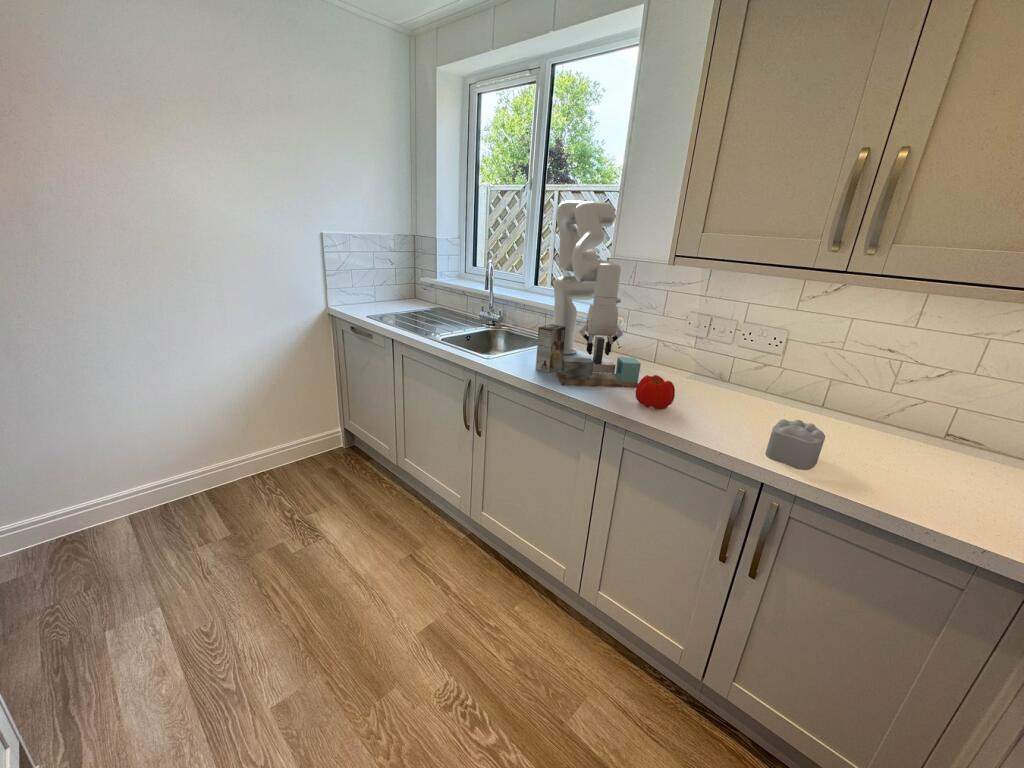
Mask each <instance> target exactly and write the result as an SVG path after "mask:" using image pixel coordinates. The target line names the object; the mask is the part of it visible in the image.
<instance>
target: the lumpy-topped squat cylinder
mask: <svg viewBox="0 0 1024 768" xmlns="http://www.w3.org/2000/svg"><path fill="white" fill-rule="evenodd" d="M825 440H826V435H825V433H824V432H823V431H822V430H821V429H820V428H818V427H817V426H816V425H815V424H813V423H806V422H803V420H801V419H794V420H788V419H785V418H784V419H779V420H778V422H777V423H776V424H775V425H774V426H773V427H772V430H771V433H770V437H769V439H768V443H767V448H766V451H765V456H766V457H767V458H768V459H770V460H772V461H774V462H777V463H781V464H783V465H786V466H788V467H791V468H793V469H796V470H801V471H809V470H811V469H813V468H814V467H816V465H817V463H818V461H819V457H820V454H821V452H822V449H823V446H824V442H825Z"/></svg>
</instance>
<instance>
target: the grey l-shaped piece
mask: <svg viewBox="0 0 1024 768" xmlns="http://www.w3.org/2000/svg"><path fill="white" fill-rule="evenodd" d="M605 341H606V339H605V338H604V336H595V339H594V347H593V348H594V349H593V355H592V356H593V357H592V361H593V362H594V365H593V373H614V374H616V367H617V364H616V363H614V362H613V361H611V362H609V361H603V355H604V350H605V349H604V348H605Z"/></svg>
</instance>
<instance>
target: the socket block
mask: <svg viewBox="0 0 1024 768" xmlns="http://www.w3.org/2000/svg"><path fill="white" fill-rule="evenodd" d="M616 361H617V362H616V366H615V373H614V374H615V376H616V377H617V378H618V380H619V381H620V382H628V383H639V379H640V378H639V377H640V372H641V362H640V361H639V360H637V359H636V357H628V356H627V357H625V356H623V357H622V356H618V357H617V360H616Z"/></svg>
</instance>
